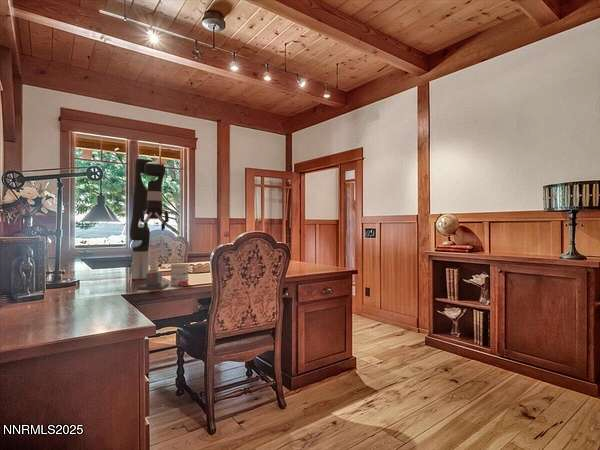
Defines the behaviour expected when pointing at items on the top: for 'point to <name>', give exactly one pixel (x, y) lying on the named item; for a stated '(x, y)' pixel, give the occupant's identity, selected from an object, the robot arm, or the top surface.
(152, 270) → the column
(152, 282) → the jack base
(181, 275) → the ink box
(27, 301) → the top surface
